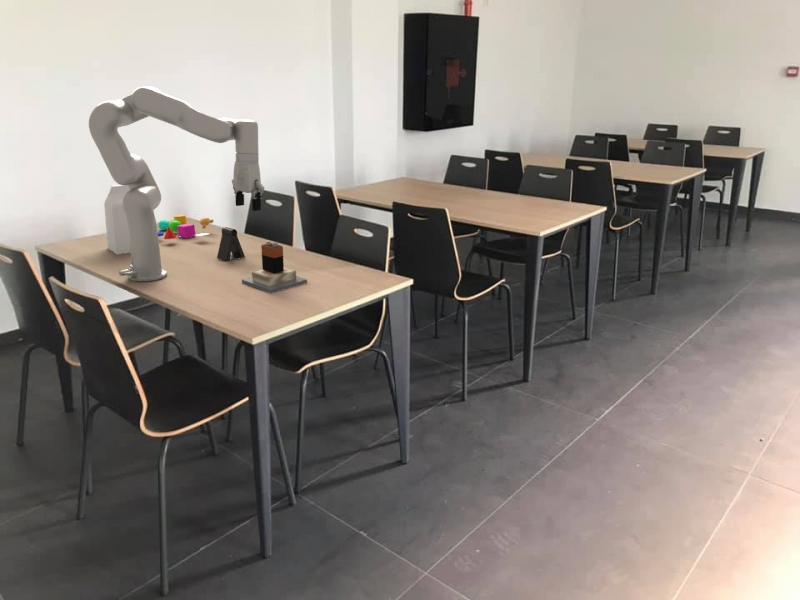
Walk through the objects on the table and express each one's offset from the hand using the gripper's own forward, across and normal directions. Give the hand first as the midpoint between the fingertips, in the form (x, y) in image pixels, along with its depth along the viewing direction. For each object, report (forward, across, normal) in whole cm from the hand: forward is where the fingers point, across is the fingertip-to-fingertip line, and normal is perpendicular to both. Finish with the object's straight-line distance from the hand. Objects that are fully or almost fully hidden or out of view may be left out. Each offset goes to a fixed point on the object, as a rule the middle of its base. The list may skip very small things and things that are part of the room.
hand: (248, 207), depth 218 cm
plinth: (+24, +12, +2) cm, 26 cm away
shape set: (+27, -70, +13) cm, 77 cm away
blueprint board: (+25, +12, +2) cm, 27 cm away
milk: (+27, -65, -14) cm, 72 cm away
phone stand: (+26, -26, +9) cm, 37 cm away
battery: (+20, +12, +2) cm, 24 cm away
